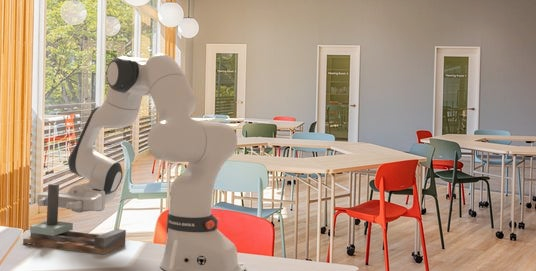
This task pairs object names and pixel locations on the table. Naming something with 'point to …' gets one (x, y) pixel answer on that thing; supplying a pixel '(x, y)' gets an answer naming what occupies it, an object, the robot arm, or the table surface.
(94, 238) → the rail board
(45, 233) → the carriage
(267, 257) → the table surface
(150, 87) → the robot arm
